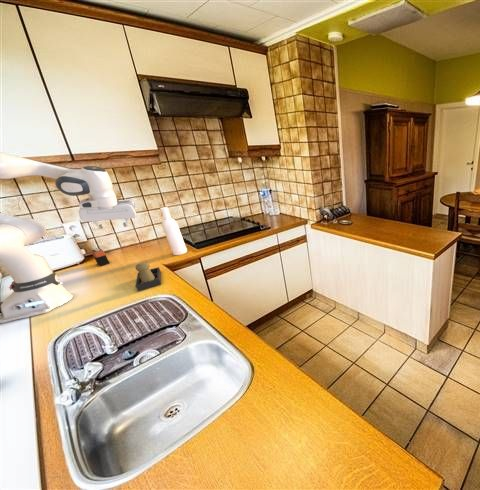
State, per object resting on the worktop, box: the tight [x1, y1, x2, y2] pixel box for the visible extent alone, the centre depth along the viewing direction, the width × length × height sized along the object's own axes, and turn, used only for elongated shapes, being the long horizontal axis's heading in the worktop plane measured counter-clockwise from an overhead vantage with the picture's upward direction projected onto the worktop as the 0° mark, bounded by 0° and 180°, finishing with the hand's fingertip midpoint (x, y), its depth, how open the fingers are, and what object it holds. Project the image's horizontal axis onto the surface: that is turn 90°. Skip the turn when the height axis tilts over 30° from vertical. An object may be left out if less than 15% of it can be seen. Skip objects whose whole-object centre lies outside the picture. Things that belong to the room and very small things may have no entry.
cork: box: [135, 261, 156, 283], centre depth 132 cm, size 6×6×11 cm
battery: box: [90, 247, 110, 267], centre depth 160 cm, size 4×7×10 cm, turn 56°
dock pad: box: [135, 266, 162, 292], centre depth 137 cm, size 9×18×3 cm, turn 36°
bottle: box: [159, 206, 188, 256], centre depth 165 cm, size 8×8×30 cm
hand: (113, 227), depth 134 cm, fingers open, 8 cm apart
